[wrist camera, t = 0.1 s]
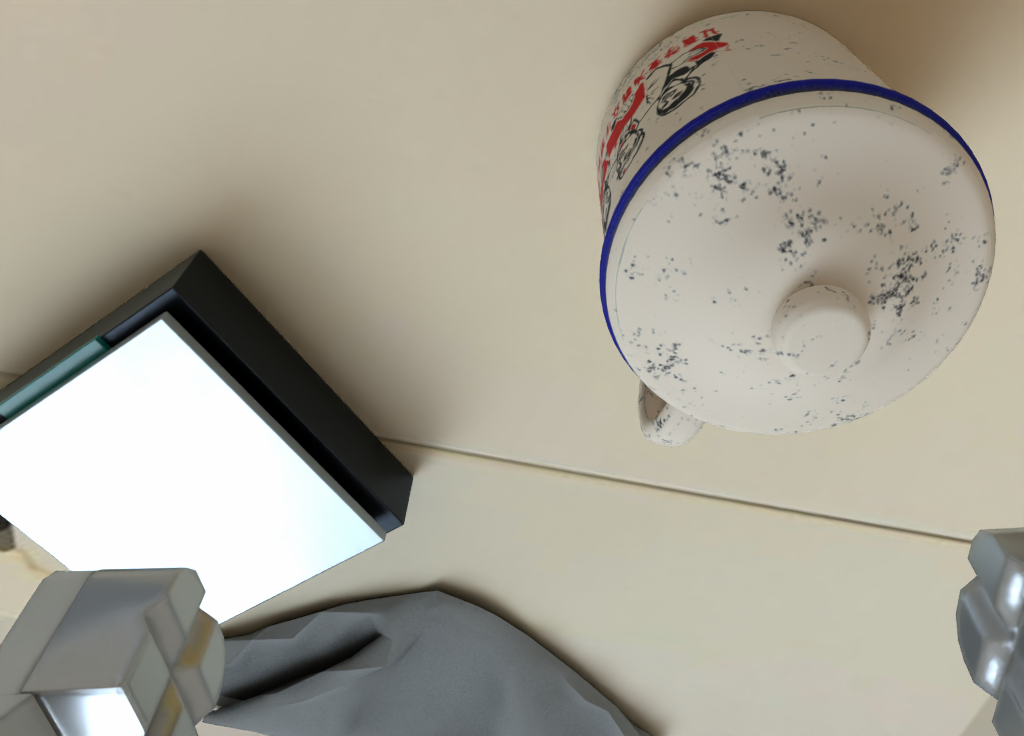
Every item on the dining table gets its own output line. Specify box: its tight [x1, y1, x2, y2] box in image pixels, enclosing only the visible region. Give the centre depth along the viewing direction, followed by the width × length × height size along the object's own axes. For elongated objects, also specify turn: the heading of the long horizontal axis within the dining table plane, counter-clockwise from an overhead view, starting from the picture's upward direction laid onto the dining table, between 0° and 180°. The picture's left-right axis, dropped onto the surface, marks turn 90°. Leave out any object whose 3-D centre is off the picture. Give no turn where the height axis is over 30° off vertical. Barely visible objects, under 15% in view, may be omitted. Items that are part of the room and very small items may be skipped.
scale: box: [0, 250, 413, 624], centre depth 34 cm, size 12×12×4 cm
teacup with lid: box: [596, 11, 996, 447], centre depth 24 cm, size 12×9×12 cm
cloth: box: [202, 591, 651, 736], centre depth 42 cm, size 26×14×2 cm, turn 67°
